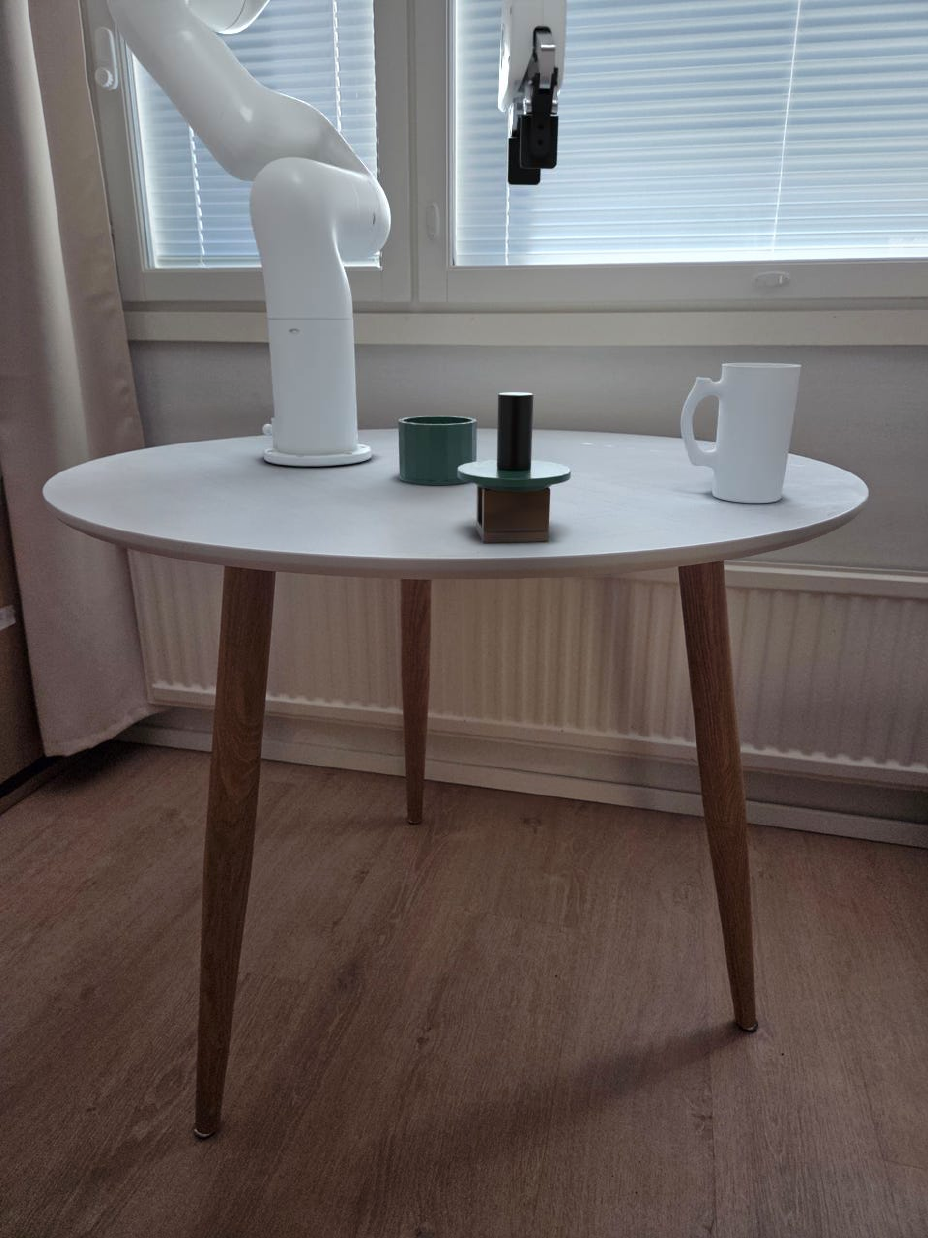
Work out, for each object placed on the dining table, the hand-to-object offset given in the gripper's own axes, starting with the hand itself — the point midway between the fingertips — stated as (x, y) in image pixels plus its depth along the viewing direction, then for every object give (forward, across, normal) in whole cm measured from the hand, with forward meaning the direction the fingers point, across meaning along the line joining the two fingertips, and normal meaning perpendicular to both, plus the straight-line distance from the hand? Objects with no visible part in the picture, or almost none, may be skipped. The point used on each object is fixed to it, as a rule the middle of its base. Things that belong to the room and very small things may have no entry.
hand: (530, 176), depth 78 cm
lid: (+24, +24, -4) cm, 34 cm away
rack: (+28, +24, -4) cm, 37 cm away
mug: (+28, +10, +18) cm, 35 cm away
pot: (+28, -1, -9) cm, 30 cm away
